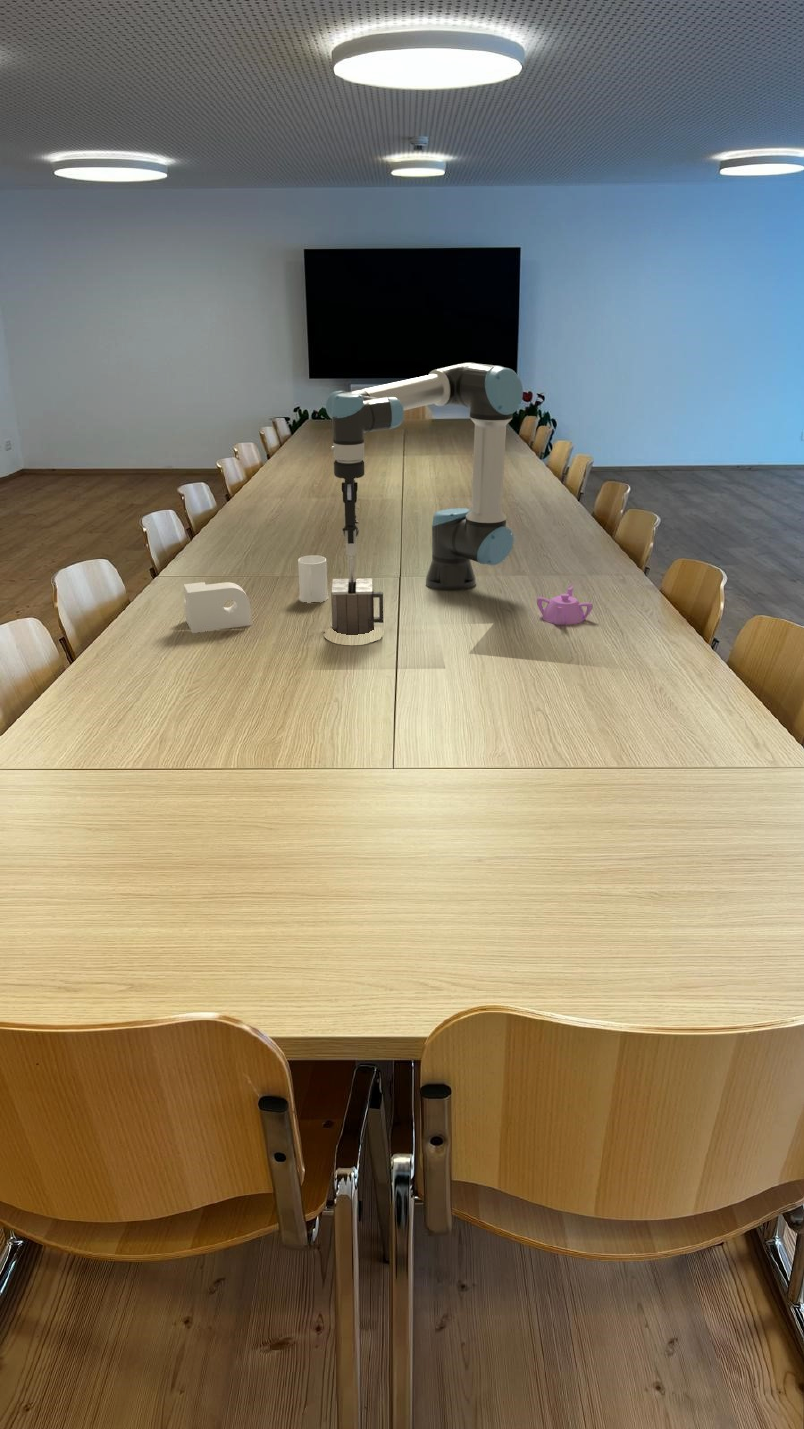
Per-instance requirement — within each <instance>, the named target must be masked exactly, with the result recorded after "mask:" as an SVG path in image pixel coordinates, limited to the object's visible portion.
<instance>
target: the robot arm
mask: <svg viewBox="0 0 804 1429" xmlns="http://www.w3.org/2000/svg"><path fill="white" fill-rule="evenodd" d="M523 396H524V390H523V384H522V381H521V378H520V376H519V375H517V373H516V372H515V370H513V369H512V368H509V367H504V366H502V365H493V364H483V363H476V362H463V363H462V362H461V363H457V364H453V365H450V366H445V367H440V368H437V369H436V368H435V369H433V370H431V371H429V373H428V375H427V374H426V375H422V376H419V377H417V376H416V377H413V378H409V379H404V380H400V381H399V380H398V381H394V382H390V383H385V384H380V385H376V386H371V387H366V388H362V389H357V390H353V391H346V390H336V391H333V392H331V393H330V394H329V395H328V396H327V399H326V402H325V410H326V414H327V416H328V417H329V418H330V419H331V420H332V422H331V423H332V424H331V425H332V439H333V440H332V442H333V444H332V446H330V450H331V451H333V459H334V461H333V475H334V477H336V478H338V479H344V482H341V492H342V502H343V504H344V523H345V525H344V527H345V528H344V527H343V528H342V532H343V531H345V536H344V538H345V540H344V541H345V542H344V543H345V556H349V555H353V556H357V550H358V547H357V545H358V544H357V541H358V540H357V538H358V537H356V527H355V525H356V526H357V524H359V523H360V522H359V520H360V519H356V518H357V515H356V503H357V501H358V500H357V499H358V498H357V497H358V483H359V482H357V481H356V480H355V479H360V478H362V477H364V475H365V460H364V459H365V434H366V433H372V432H379V431H388V430H392V429H396V428H398V427H399V426H401V424H402V423H403V421H404V418H405V415H404V414H405V413H404V411H407V410H412V409H415V408H416V409H417V408H421V407H424V406H430V405H435V406H437V407H443V406H447V405H449V406H453V405H454V406H460V407H466V408H469V419H470V420H471V421H472V422H473V423H474V434H473V436H474V437H473V438H474V439H473V460H472V461H473V463H472V464H473V465H472V484H471V509H470V508H465V507H464V508H463V507H458V508H457V507H456V508H447V509H441V510H438V511H436V512H435V513H433V516H432V524H431V562H430V565H429V568H428V570H427V573H426V576H425V586H426V587H428V588H429V589H432V590H436V591H446V592H457V591H458V592H459V591H466V590H470V589H472V588H474V587H475V586H476V581H477V580H476V574H475V571H474V568H473V564H472V561H474V562H476V563H479V564H480V565H481V564H482V565H486V566H493V567H494V566H497V565H499V564H501V563H503V562H504V561H505V560H506V559H507V557H508V556H509V555H510V554H511V551H512V549H513V545H514V539H515V537H514V532H512V529H510V528H509V527H507V515H506V514H505V513H504V512H503V511H502V507H503V506H502V505H503V493H504V491H503V488H504V472H505V471H504V470H505V452H506V437H507V425H508V424H509V423H510V422H511V420H513V414H514V413H515V412H516V411H517V410H519V408H520V406H519V405H521V404H522V400H523Z"/></svg>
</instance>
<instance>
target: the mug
mask: <svg viewBox="0 0 804 1429" xmlns="http://www.w3.org/2000/svg"><path fill="white" fill-rule="evenodd" d="M297 562H298V563H297V564H298V565H297V566H298V582H299V584H298V586H299V597H298V600H299V601H300V602H302V603H304V602H307V603H306V604H312V603H311V602H320V603H324V602H323V601H325V602H327V601H328V600H329V598H330V597H329V594H328V572H327V558H326V557H324V556H323V555H322V556H321V555H317V554H316V555H315V554H314V555H312V554H311V555H305V556H301V557H299V558H298V560H297ZM327 599H328V600H327ZM326 600H327V601H326Z"/></svg>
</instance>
